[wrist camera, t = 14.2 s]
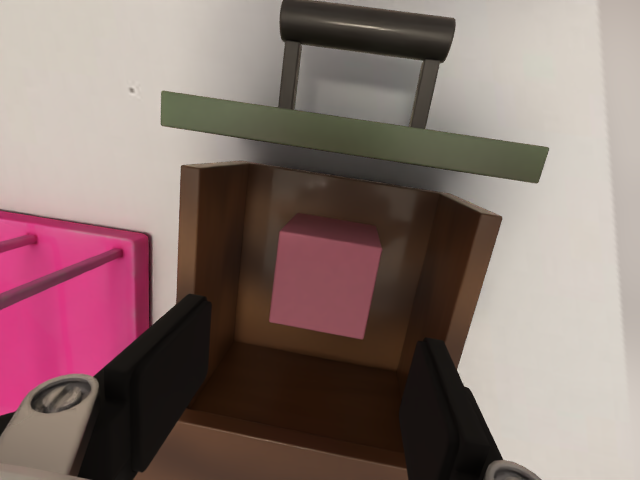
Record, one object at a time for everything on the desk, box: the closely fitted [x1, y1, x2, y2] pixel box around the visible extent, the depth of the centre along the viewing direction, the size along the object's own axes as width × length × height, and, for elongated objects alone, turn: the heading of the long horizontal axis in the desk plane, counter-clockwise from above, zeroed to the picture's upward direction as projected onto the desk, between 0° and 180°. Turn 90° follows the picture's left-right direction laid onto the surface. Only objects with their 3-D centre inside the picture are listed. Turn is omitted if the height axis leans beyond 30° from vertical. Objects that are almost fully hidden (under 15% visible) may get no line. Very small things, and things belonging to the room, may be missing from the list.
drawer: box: [161, 0, 549, 453], centre depth 16 cm, size 19×13×7 cm
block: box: [269, 213, 382, 339], centre depth 17 cm, size 4×4×4 cm
